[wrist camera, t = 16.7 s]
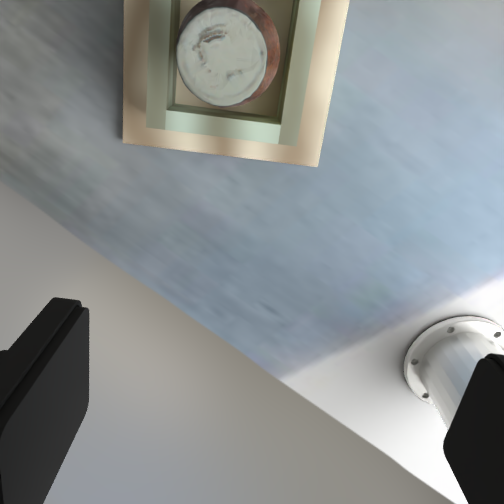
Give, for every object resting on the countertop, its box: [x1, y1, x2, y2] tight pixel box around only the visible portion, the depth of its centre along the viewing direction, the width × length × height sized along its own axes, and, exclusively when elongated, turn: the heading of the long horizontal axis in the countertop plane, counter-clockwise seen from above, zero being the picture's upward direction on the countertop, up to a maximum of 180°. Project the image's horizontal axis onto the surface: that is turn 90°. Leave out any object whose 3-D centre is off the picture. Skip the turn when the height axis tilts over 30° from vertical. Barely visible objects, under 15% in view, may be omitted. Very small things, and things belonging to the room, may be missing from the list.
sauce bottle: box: [176, 0, 280, 108], centre depth 28 cm, size 6×6×20 cm
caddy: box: [123, 0, 349, 167], centre depth 35 cm, size 18×18×6 cm
